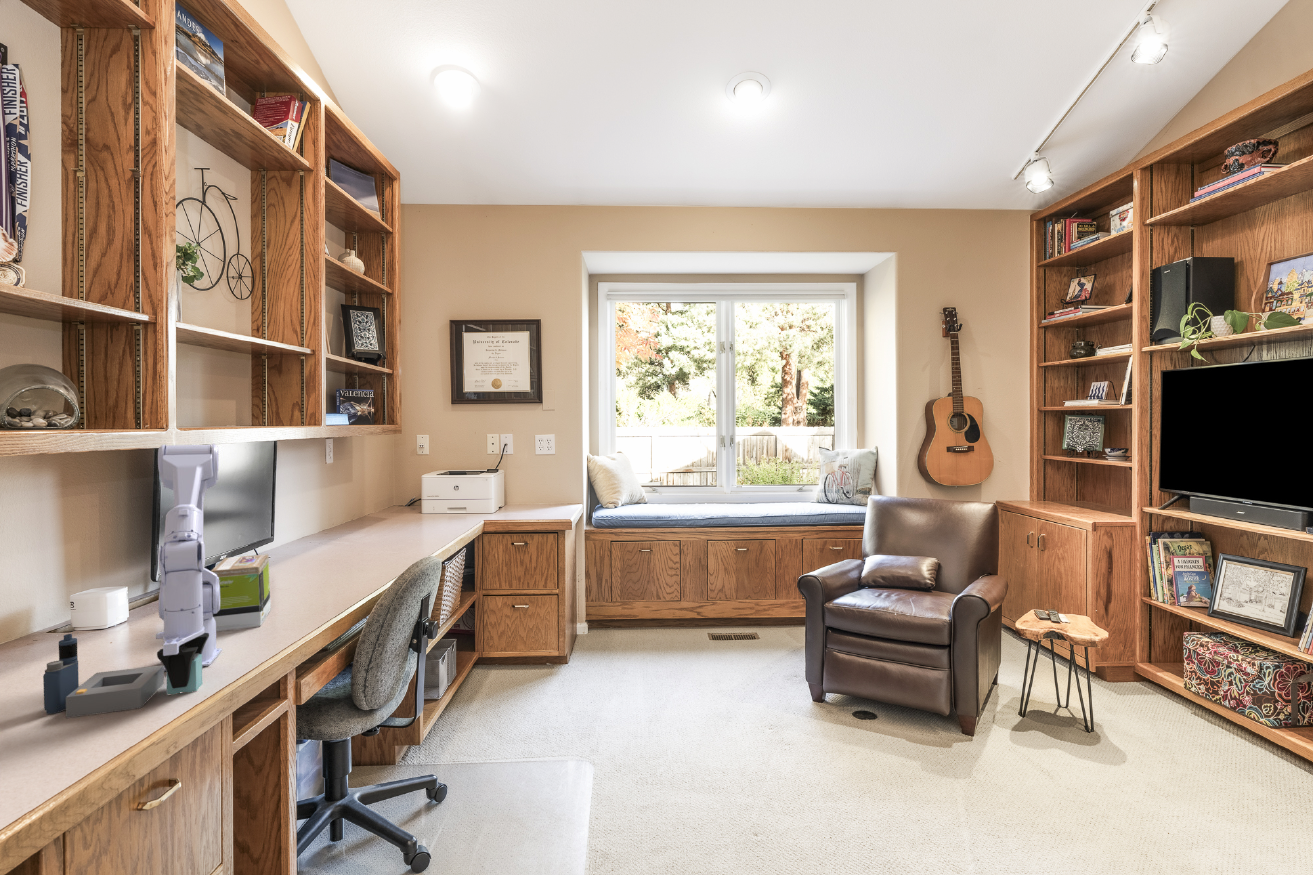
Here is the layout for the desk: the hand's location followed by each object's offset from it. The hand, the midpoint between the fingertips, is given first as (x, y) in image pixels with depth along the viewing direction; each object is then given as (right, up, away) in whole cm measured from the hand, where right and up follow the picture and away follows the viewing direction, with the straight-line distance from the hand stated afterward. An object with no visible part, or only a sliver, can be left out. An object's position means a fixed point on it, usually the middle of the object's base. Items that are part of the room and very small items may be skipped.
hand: (184, 681), depth 116 cm
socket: (-9, -2, -4) cm, 10 cm away
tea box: (-15, -1, +40) cm, 43 cm away
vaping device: (-15, -2, -7) cm, 17 cm away
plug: (0, -2, 0) cm, 2 cm away
